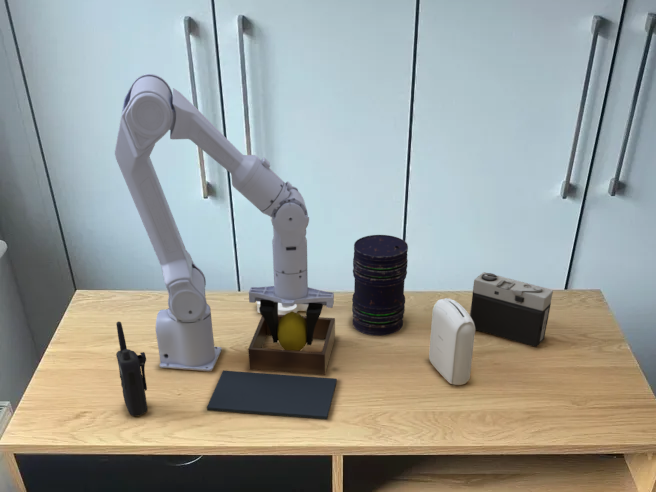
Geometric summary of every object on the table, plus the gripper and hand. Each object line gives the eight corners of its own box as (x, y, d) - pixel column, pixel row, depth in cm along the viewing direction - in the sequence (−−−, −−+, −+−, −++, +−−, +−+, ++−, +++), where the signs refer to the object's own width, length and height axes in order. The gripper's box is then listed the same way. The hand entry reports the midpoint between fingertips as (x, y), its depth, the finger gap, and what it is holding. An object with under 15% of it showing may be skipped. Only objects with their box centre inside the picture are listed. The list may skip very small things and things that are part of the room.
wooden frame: (249, 369, 151) (248, 349, 148) (264, 333, 160) (262, 313, 157) (325, 375, 149) (324, 354, 147) (335, 338, 159) (335, 318, 156)
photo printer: (425, 359, 154) (430, 293, 145) (446, 355, 155) (453, 289, 146) (449, 388, 147) (457, 320, 138) (472, 383, 148) (481, 316, 139)
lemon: (297, 364, 152) (296, 322, 147) (272, 355, 154) (270, 314, 149) (314, 351, 155) (314, 309, 150) (289, 343, 158) (288, 301, 152)
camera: (553, 330, 162) (563, 279, 155) (535, 348, 157) (545, 296, 150) (485, 312, 167) (492, 261, 160) (467, 328, 162) (473, 277, 155)
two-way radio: (123, 402, 143) (107, 318, 132) (150, 397, 144) (136, 313, 133) (130, 420, 139) (114, 334, 129) (157, 414, 140) (143, 329, 130)
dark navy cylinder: (346, 332, 161) (347, 253, 150) (357, 309, 167) (359, 232, 157) (399, 338, 159) (403, 259, 149) (407, 314, 166) (412, 237, 156)
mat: (207, 410, 141) (206, 407, 141) (223, 373, 150) (222, 370, 149) (327, 419, 139) (327, 416, 139) (336, 381, 148) (336, 378, 148)
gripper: (243, 274, 142) (248, 349, 151) (330, 280, 140) (330, 355, 150) (251, 256, 147) (256, 330, 156) (335, 262, 145) (335, 335, 155)
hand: (292, 341), depth 153 cm, fingers closed on lemon, 5 cm apart
